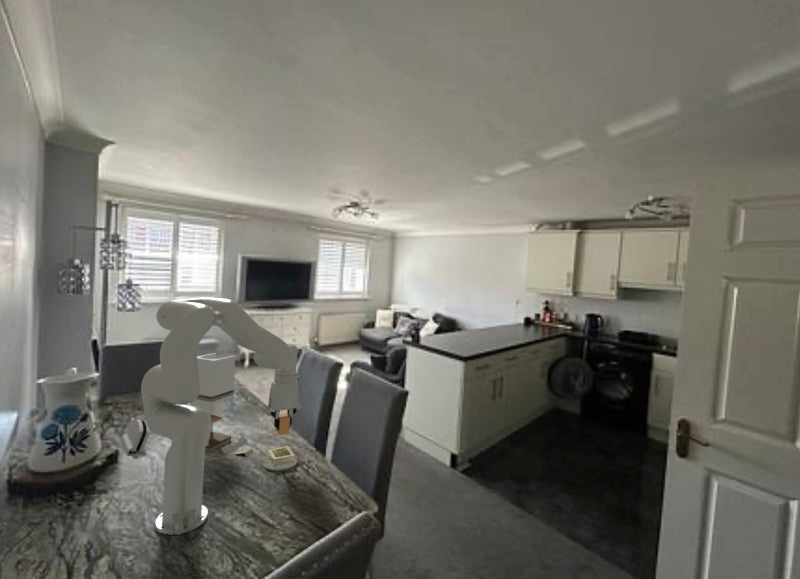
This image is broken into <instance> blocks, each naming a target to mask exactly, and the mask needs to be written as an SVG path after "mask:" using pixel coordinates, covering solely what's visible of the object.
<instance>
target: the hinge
mask: <svg viewBox="0 0 800 579" xmlns="http://www.w3.org/2000/svg"><path fill="white" fill-rule="evenodd" d="M150 434H151V431H150V429H149V428H148V426H147V423H146V420H143V419H133V420H132V422H131V423H130V426H129V428H128V429H127V432H126V433H124V434H122V436H121V438H120V441H121V445H122V448H123V450H124V453H125V455H129V453H130V451H131V452H136V451H138V452H139V453H142V452H144V449H145V446H146V444H147V442H148V439H149V436H150Z"/></svg>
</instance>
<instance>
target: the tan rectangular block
mask: <svg viewBox="0 0 800 579" xmlns="http://www.w3.org/2000/svg"><path fill="white" fill-rule="evenodd" d="M287 414H288V412H286V413H279V419H280V423H279V430H277V429H276V428H275V431H276V433H277V435H279V436H283V435H288V434H289V435H290V428H289V425H290V417H289V416H288V415H287ZM290 426H291V425H290Z"/></svg>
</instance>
